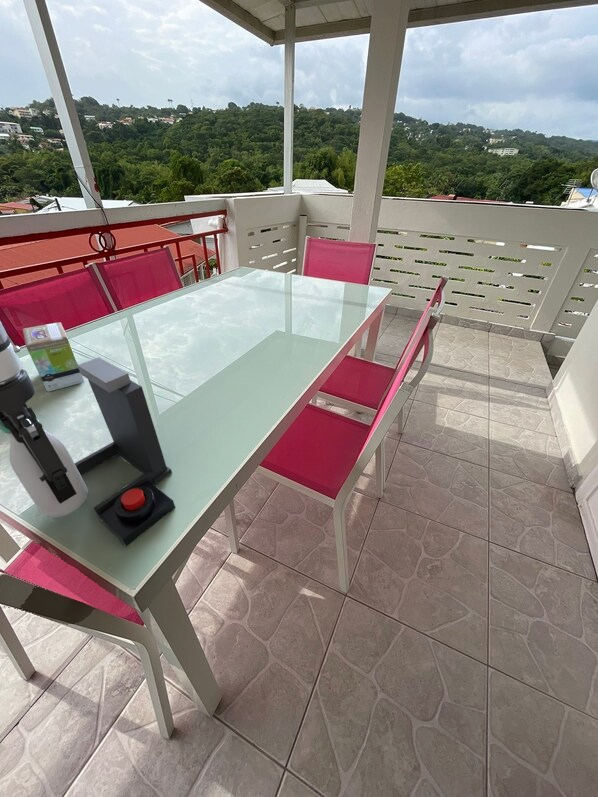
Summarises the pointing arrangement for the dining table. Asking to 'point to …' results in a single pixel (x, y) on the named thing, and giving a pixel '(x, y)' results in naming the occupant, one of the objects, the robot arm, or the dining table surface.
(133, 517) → the switch block
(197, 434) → the dining table surface
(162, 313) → the dining table surface
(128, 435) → the drink machine
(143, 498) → the stop button
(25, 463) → the milk bottle
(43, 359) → the tea box
